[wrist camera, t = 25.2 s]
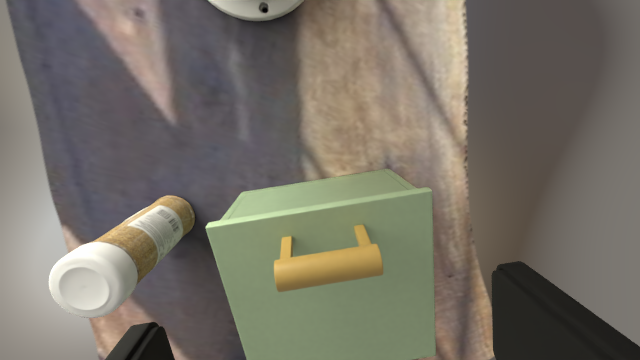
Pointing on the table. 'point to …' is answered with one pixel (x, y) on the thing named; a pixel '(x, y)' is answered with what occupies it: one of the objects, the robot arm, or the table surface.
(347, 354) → the lid
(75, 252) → the sprinkles bottle
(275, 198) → the bread box
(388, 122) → the table surface
